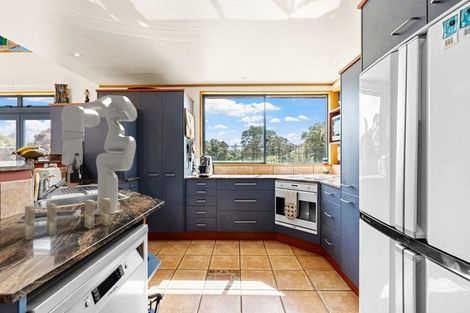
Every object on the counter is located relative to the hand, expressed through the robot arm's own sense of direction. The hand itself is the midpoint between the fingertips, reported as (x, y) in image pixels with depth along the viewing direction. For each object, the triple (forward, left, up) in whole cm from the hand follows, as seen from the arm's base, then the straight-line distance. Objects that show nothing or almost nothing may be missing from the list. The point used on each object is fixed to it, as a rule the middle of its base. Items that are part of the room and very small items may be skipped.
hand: (72, 181), depth 99 cm
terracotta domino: (0, 0, -2) cm, 2 cm away
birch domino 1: (+10, -8, -19) cm, 23 cm away
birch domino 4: (-10, +8, -19) cm, 23 cm away
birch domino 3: (-5, +4, -19) cm, 20 cm away
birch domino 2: (+5, -4, -19) cm, 20 cm away
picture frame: (-21, -23, -20) cm, 37 cm away
